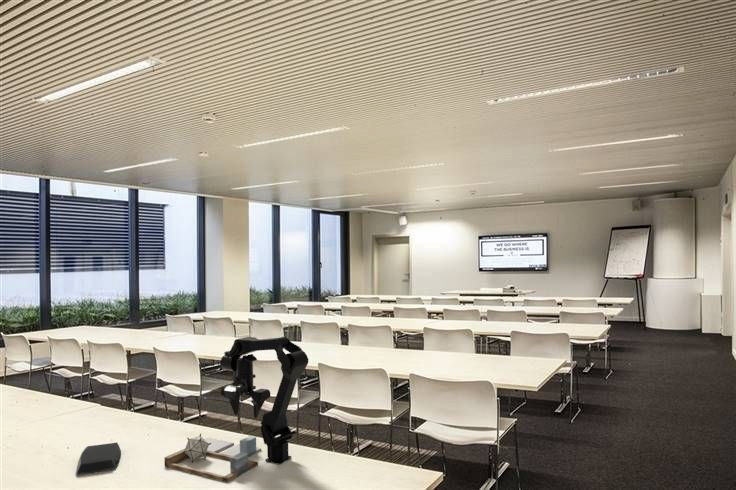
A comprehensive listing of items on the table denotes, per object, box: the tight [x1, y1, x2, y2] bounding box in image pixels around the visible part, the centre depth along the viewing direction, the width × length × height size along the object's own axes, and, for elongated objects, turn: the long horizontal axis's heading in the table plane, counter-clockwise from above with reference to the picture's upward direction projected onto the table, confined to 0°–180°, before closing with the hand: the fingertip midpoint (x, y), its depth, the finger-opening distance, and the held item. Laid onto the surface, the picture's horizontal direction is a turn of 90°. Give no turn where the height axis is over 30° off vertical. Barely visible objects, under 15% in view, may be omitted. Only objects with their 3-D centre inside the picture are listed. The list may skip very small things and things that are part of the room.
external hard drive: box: [75, 441, 122, 477], centre depth 183 cm, size 13×19×4 cm
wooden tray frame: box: [164, 448, 259, 483], centre depth 177 cm, size 28×14×6 cm, turn 61°
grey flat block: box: [203, 435, 262, 458], centre depth 192 cm, size 26×10×6 cm, turn 61°
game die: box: [182, 433, 211, 464], centre depth 183 cm, size 9×8×10 cm
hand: (245, 416), depth 191 cm, fingers open, 9 cm apart
